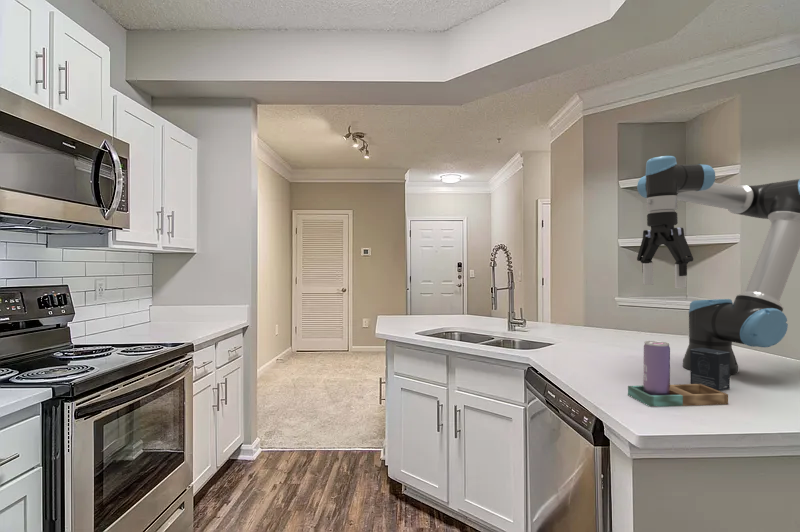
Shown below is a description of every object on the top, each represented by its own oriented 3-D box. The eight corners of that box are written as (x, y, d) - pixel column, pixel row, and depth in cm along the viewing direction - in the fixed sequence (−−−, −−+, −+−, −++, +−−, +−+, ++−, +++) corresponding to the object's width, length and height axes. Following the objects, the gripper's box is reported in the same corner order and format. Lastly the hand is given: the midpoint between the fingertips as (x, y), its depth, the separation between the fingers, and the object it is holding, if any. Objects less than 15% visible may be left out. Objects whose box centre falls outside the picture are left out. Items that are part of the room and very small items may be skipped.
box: (730, 389, 128) (730, 351, 128) (718, 392, 126) (718, 353, 126) (701, 382, 135) (701, 346, 135) (689, 384, 133) (689, 348, 133)
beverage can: (673, 404, 115) (673, 345, 115) (647, 403, 117) (647, 344, 116) (665, 397, 121) (665, 341, 121) (640, 396, 122) (640, 340, 122)
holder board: (700, 392, 125) (700, 383, 125) (728, 404, 115) (728, 394, 115) (627, 395, 123) (627, 385, 123) (649, 406, 114) (649, 396, 114)
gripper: (623, 216, 142) (625, 284, 143) (681, 207, 117) (683, 290, 118) (646, 215, 143) (647, 283, 144) (708, 207, 118) (709, 288, 119)
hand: (663, 286), depth 131 cm, fingers open, 13 cm apart
